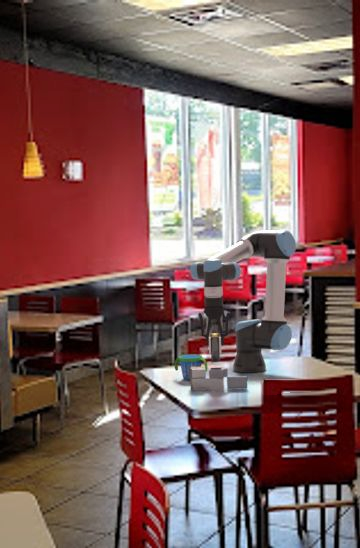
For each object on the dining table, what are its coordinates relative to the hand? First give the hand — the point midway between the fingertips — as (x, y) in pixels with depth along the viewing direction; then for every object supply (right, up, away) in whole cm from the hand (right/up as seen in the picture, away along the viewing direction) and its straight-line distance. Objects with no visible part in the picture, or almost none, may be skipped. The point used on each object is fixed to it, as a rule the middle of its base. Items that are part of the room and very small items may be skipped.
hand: (215, 353), depth 342 cm
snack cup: (-10, -14, +26) cm, 31 cm away
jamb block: (-7, -15, +5) cm, 18 cm away
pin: (0, -3, 0) cm, 3 cm away
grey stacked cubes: (+5, -15, +1) cm, 16 cm away
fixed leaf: (-3, -15, +2) cm, 16 cm away
